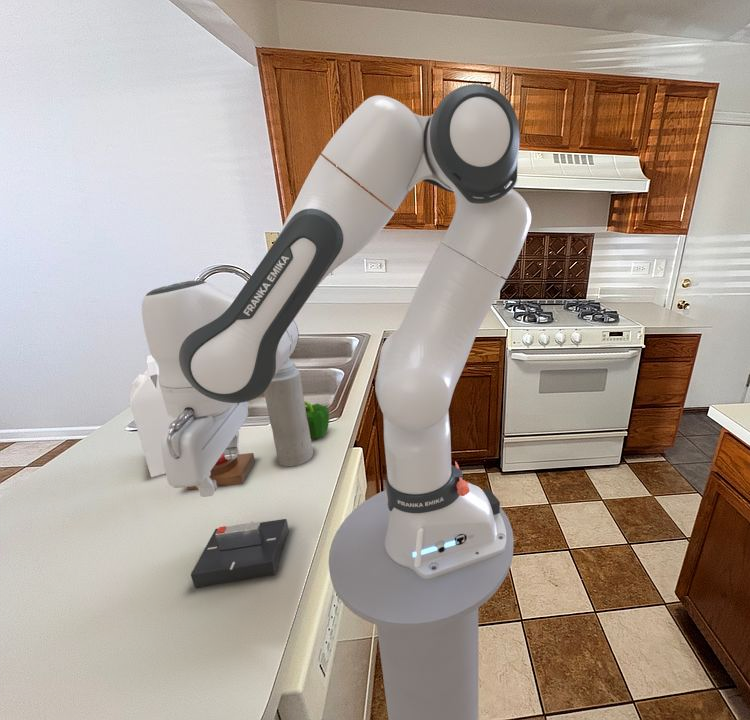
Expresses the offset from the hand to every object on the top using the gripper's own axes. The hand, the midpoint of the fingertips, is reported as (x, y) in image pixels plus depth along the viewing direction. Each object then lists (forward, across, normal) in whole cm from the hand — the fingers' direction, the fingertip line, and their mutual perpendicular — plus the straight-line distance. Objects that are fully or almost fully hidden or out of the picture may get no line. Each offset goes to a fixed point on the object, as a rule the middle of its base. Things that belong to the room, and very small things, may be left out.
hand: (221, 474), depth 62 cm
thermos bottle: (+18, +32, -2) cm, 37 cm away
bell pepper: (+18, +42, -5) cm, 46 cm away
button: (+15, +28, +13) cm, 34 cm away
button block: (+18, +28, +13) cm, 36 cm away
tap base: (+18, +1, 0) cm, 18 cm away
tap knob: (+15, +1, 0) cm, 15 cm away
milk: (+19, +38, +26) cm, 50 cm away
